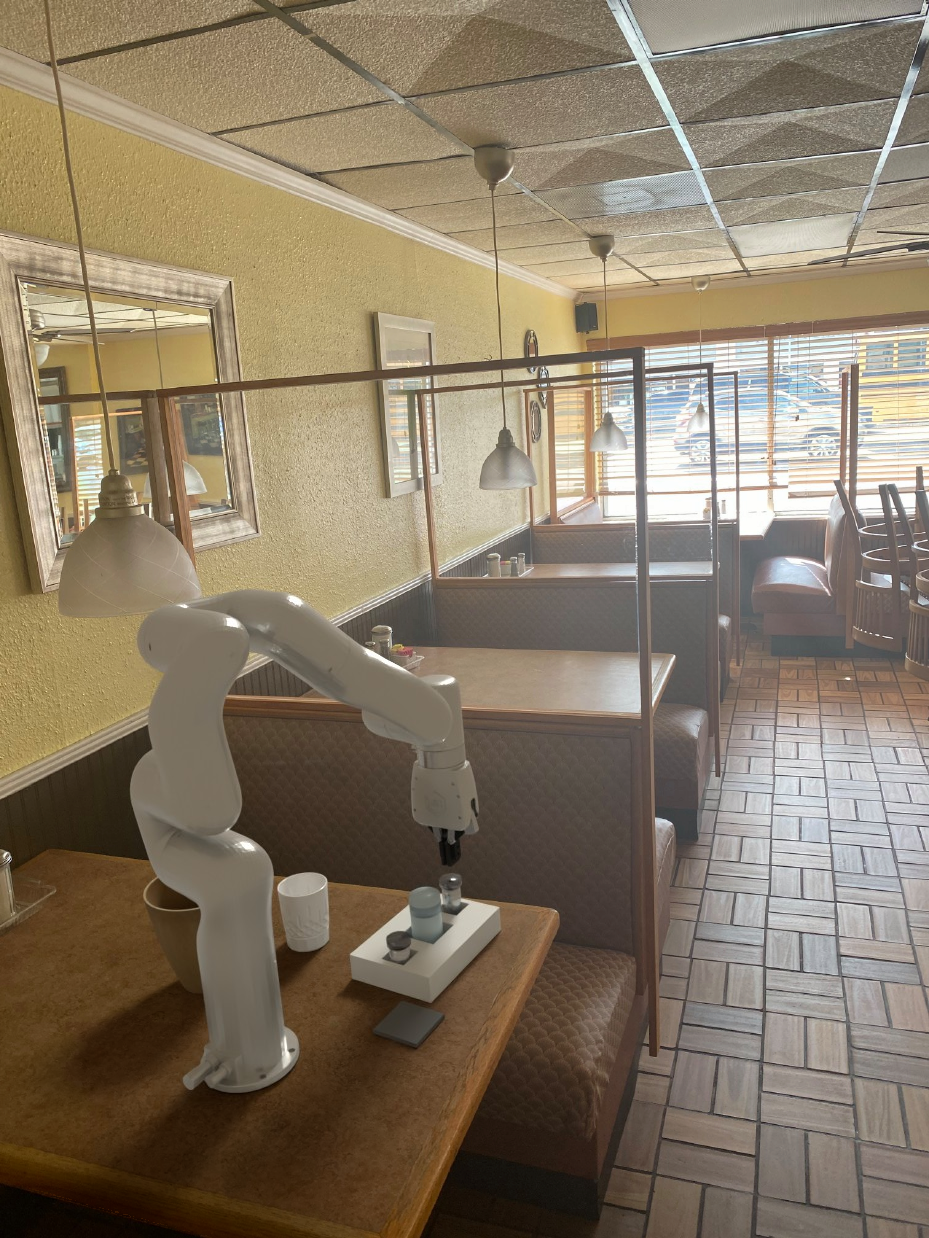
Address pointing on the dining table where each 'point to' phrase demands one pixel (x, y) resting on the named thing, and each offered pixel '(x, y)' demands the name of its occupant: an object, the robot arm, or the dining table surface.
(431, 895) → the cylinder
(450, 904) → the dark capped shaker
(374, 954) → the housing
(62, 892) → the dining table surface
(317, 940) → the white cup
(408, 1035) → the mat
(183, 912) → the plant pot
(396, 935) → the grey dome-capped cylinder
